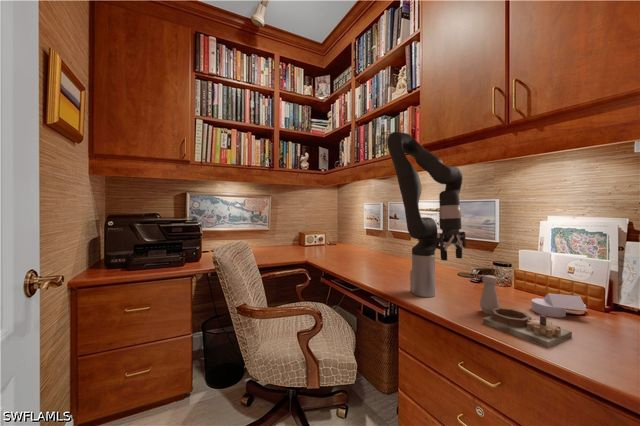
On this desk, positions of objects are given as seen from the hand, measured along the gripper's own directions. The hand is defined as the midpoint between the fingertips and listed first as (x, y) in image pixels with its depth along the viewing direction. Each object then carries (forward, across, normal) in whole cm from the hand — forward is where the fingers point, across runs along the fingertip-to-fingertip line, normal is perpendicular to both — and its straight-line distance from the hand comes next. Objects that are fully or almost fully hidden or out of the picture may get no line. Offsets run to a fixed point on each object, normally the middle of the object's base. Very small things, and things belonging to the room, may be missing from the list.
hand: (451, 259), depth 99 cm
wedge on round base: (+18, -24, +22) cm, 37 cm away
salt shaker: (+18, -4, +11) cm, 21 cm away
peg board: (+18, 0, +24) cm, 30 cm away
